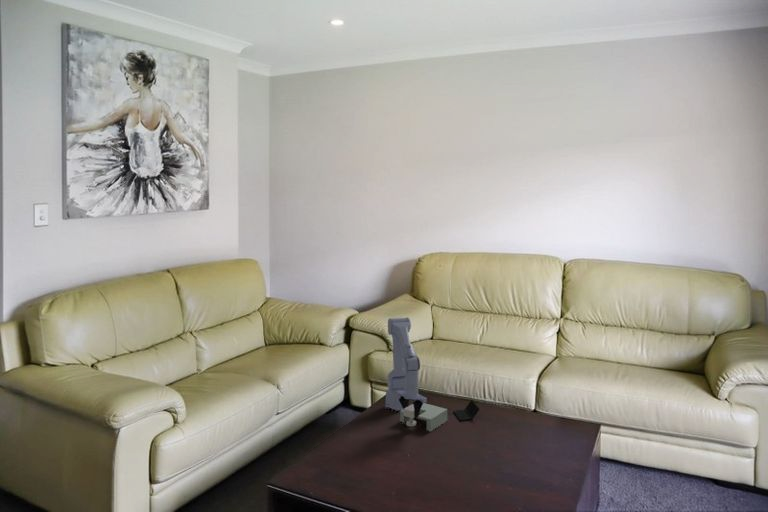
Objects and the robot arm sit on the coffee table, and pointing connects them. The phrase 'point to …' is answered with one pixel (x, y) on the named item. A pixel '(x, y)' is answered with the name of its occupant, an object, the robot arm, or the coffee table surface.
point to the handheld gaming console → (467, 412)
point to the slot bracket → (429, 415)
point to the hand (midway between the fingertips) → (411, 415)
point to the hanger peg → (409, 415)
